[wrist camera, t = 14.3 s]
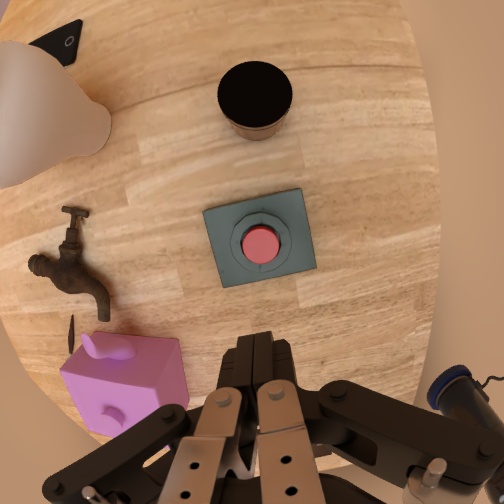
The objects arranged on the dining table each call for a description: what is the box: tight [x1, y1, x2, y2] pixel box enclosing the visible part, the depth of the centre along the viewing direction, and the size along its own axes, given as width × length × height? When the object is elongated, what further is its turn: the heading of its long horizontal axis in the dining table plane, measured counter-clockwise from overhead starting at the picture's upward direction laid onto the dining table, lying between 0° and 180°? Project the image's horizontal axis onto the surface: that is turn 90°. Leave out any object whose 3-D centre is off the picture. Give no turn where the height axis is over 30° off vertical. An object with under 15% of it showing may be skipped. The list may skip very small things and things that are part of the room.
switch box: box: [202, 188, 317, 288], centre depth 35 cm, size 12×10×4 cm
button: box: [242, 226, 279, 264], centre depth 32 cm, size 4×4×2 cm
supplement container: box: [217, 61, 293, 141], centre depth 28 cm, size 7×7×10 cm
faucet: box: [28, 206, 110, 322], centre depth 36 cm, size 5×17×15 cm
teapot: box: [60, 331, 189, 449], centre depth 36 cm, size 15×25×14 cm, turn 1°
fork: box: [66, 315, 74, 361], centre depth 42 cm, size 3×16×2 cm, turn 158°
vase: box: [0, 40, 112, 189], centre depth 19 cm, size 15×15×29 cm
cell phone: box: [28, 19, 82, 66], centre depth 29 cm, size 9×18×1 cm, turn 91°
